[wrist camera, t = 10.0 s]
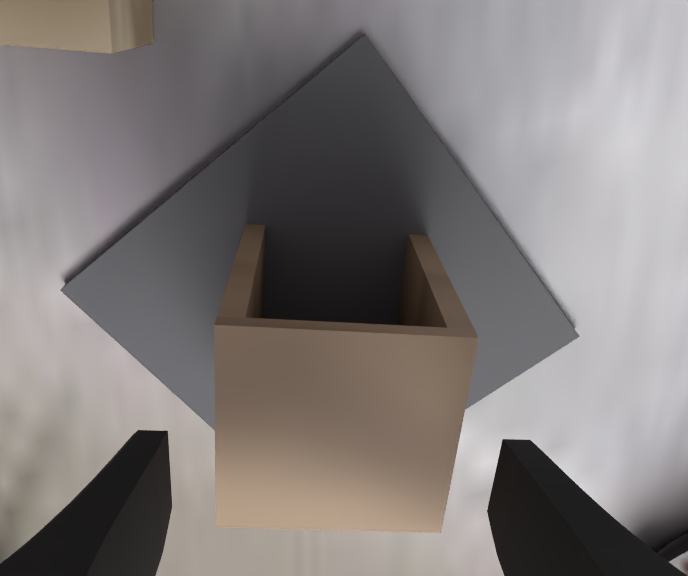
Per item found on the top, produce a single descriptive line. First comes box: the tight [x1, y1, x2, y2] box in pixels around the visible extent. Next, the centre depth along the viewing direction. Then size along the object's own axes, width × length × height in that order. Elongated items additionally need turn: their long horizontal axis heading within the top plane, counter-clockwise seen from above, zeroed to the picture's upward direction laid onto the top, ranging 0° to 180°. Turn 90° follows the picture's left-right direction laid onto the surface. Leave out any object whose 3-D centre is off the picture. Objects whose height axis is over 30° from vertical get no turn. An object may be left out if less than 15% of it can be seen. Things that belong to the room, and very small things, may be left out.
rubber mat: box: [61, 34, 579, 430], centre depth 20 cm, size 12×12×1 cm
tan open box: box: [214, 224, 479, 533], centre depth 17 cm, size 6×6×6 cm
